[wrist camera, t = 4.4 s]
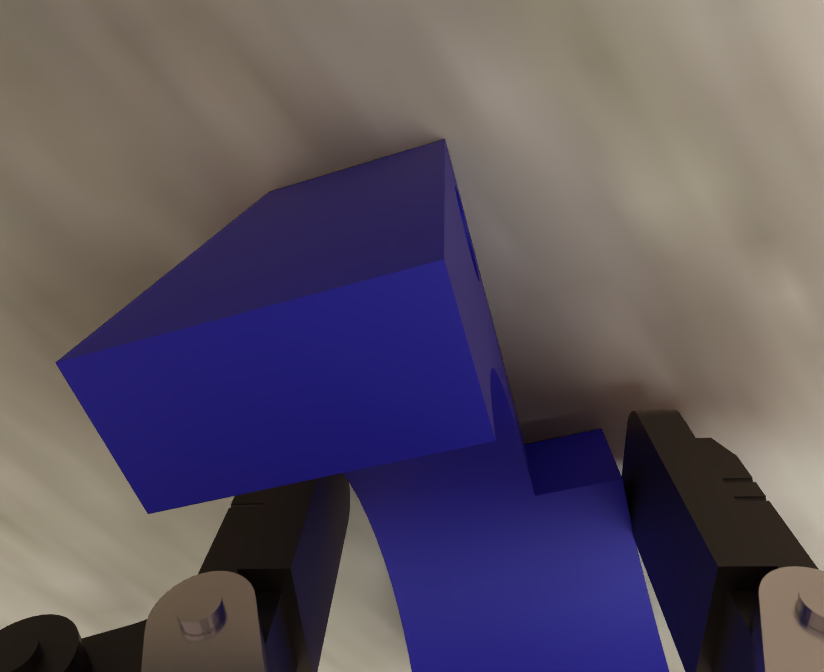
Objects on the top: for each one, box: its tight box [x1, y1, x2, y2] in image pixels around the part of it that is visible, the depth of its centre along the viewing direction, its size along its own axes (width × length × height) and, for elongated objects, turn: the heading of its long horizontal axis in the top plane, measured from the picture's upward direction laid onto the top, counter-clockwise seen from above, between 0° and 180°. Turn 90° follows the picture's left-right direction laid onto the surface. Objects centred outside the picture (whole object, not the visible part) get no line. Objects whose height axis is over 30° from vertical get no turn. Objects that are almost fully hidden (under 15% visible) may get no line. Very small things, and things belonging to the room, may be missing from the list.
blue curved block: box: [56, 139, 669, 672], centre depth 9 cm, size 12×4×6 cm, turn 16°
